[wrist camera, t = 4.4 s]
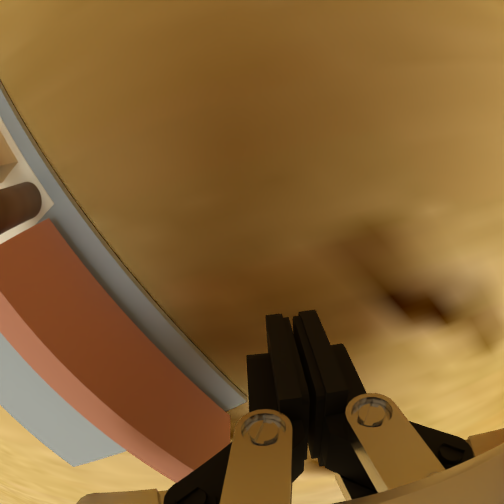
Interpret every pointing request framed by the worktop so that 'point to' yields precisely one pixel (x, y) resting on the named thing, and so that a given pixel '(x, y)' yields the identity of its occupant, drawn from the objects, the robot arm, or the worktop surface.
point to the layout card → (119, 289)
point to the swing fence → (102, 357)
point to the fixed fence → (15, 194)
